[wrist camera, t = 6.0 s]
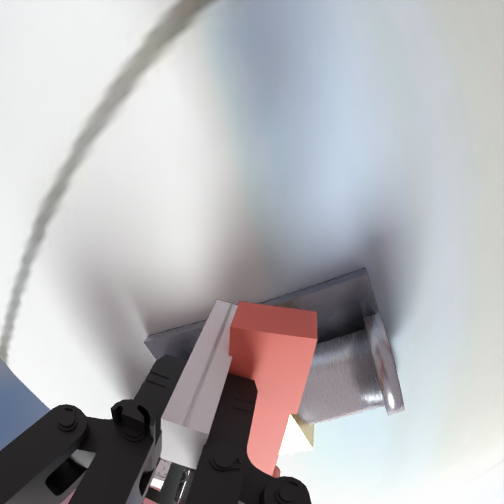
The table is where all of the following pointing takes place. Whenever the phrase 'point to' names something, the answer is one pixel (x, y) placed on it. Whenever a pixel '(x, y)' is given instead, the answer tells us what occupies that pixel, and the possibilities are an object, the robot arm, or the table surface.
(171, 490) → the french press
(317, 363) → the valve body
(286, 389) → the lever
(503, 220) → the table surface
